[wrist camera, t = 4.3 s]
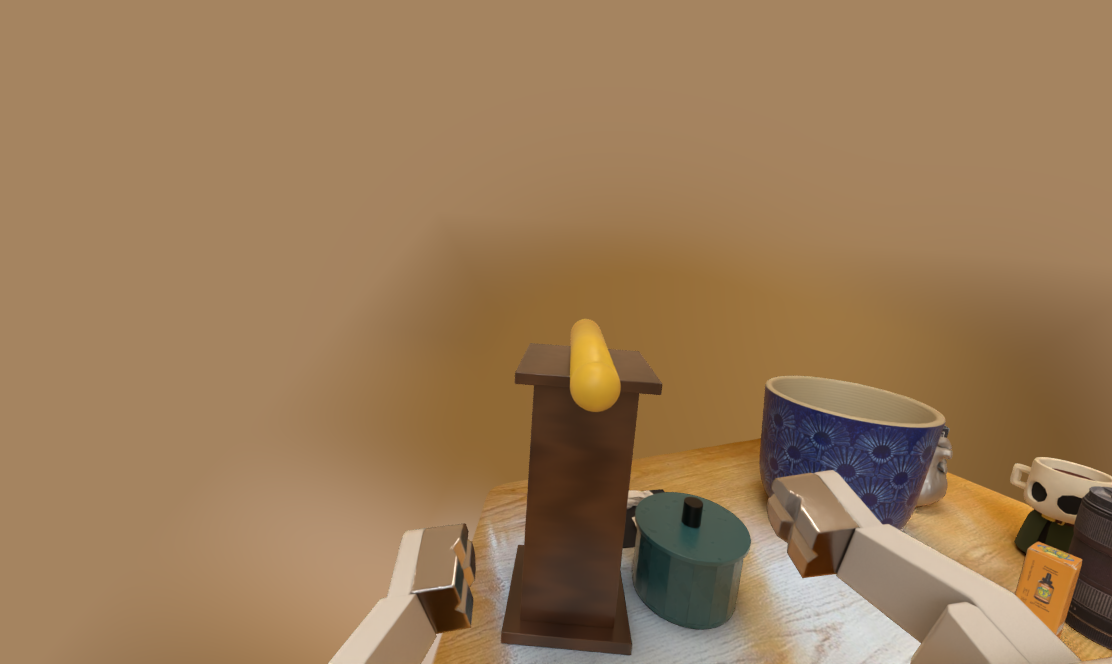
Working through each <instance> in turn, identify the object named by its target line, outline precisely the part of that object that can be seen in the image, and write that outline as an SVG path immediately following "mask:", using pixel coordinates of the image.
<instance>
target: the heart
mask: <svg viewBox="0 0 1112 664" xmlns="http://www.w3.org/2000/svg"><path fill="white" fill-rule="evenodd" d="M951 449H952V447H951V444H950V442H949V440H948V439H947V438H945V437H940V439H939V442H938V445H937V448H936V451H935V453H934V456H933V459H932V462H931V465H930V468H929V471H928V473H927V476H926V479H925V482H924V485H923V488H922V490H921V493H920V496H919V499H918V502H917V505H916V506H924V505H929V504H932V503H935V502H937V501H939V500H940V499H941V498H943V497H944V496H945V494H946V490H947V479H946V474H947V466H946V459H951V458H952V454H953V451H952V450H951ZM944 458H946V459H944Z"/></svg>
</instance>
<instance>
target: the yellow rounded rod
mask: <svg viewBox="0 0 1112 664" xmlns="http://www.w3.org/2000/svg"><path fill="white" fill-rule="evenodd" d="M620 390H621V384H620V379H619V376H618V374H617V371H616V369H615V366H614V364H613V361H612V358H611V356H610V353H609V351H608V348H607V346H606V344H605V341H604V338H603V336H602V333H601V331H600V328H599V326H598V325H597V324H596V323H595V322H594V321H592V320H590V319H582V320H580V321H578V322H576V323H575V324H574V326H573V327H572V330H571V353H570V392H571V395H572V397H573V399H574V401H575V402H576V404H578V405H579V406H580V407H581V408H583V409H585V410H587V411H591V412H601V411H604V410H607V409H608V408H610V407H611V406H612V405H613V404H614V403H615V402H616V401H617V399H618V397H619V395H620Z"/></svg>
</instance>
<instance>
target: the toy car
mask: <svg viewBox="0 0 1112 664" xmlns="http://www.w3.org/2000/svg"><path fill="white" fill-rule="evenodd" d="M653 494H654V493H653V492H652V491H650V490H649V491H648V490H647V491H636V490H629V493H628V502H627V509H632V508H633V507H637V505H638V504H639V502H640V501H641V500H643V499H644V498H646V497H648V496H650V495H653Z"/></svg>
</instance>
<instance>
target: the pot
mask: <svg viewBox="0 0 1112 664" xmlns="http://www.w3.org/2000/svg"><path fill="white" fill-rule="evenodd" d="M742 564H743V559H742V560H741V561H739V562H737V563H734V564H731V565H726V566H703V565H697V564H693V563H689V562H685V561H682V560H680V559H677V558H674V557H672V556H670V555H668V554H666V553H664V552H663V551H661V550H659V549H658V548H656V547H655V546H654V545H652V544H651V543H650V542H649V541H648V540H647V539H646V538H645V537H644V536H643V535H642V534H641V532H640V531H639V529H638V527H637V534H636V542H635V551H634V560H633V569H632V572H633V583H634V587H635V589H636V592H637V593H638V595H639V597H640V598H641V599H642V601H643V602H644V603H645V604H646V605H647V606H648V607H649V608H650V609H651V610H652V611H653V612H655V613H656V614H658V615H659V616H660V617H662V618H664V619H666V620H668V621H670V622H672V623H674V624H677V625H680V626H683V627H687V628H693V629H711V628H715V627H718V626H721V625H722V624H724V623H726V622H727V621H728V620H729V619H730V617H731V616H732V614H733V612H734V610H735V606H736V600H737V594H738V588H739V582H740V576H741V570H742Z"/></svg>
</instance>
